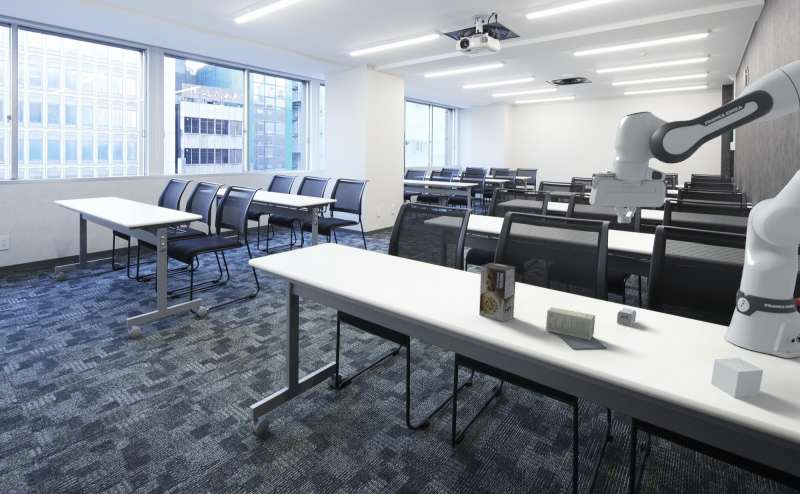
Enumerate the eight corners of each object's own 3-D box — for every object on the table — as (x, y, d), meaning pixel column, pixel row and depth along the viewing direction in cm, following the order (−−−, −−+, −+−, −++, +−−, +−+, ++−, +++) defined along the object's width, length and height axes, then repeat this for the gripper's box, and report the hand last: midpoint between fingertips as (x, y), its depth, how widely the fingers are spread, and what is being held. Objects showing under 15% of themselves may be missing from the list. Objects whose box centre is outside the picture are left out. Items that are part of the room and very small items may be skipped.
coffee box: (514, 316, 142) (517, 266, 139) (503, 322, 137) (506, 270, 134) (489, 309, 148) (491, 261, 145) (478, 314, 144) (480, 265, 140)
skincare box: (596, 315, 126) (551, 305, 132) (592, 319, 122) (547, 309, 129) (593, 336, 127) (549, 326, 134) (589, 341, 123) (545, 330, 130)
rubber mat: (584, 331, 131) (584, 330, 131) (606, 348, 119) (606, 347, 119) (554, 331, 130) (554, 330, 130) (573, 349, 118) (573, 348, 118)
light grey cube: (758, 396, 97) (763, 370, 95) (734, 398, 96) (738, 372, 94) (734, 382, 102) (738, 357, 101) (710, 384, 102) (714, 359, 100)
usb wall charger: (616, 323, 137) (617, 310, 137) (623, 317, 143) (624, 305, 142) (630, 326, 135) (632, 314, 134) (637, 320, 140) (638, 308, 139)
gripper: (599, 173, 122) (594, 224, 124) (671, 174, 123) (665, 224, 126) (587, 172, 128) (583, 221, 131) (656, 173, 129) (651, 221, 132)
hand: (623, 222), depth 128 cm, fingers closed
